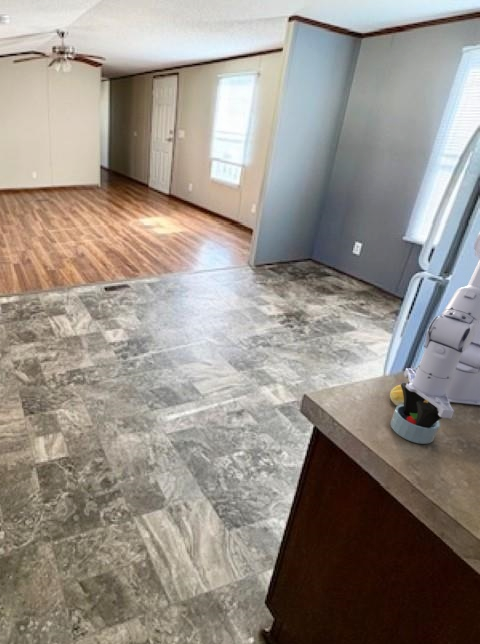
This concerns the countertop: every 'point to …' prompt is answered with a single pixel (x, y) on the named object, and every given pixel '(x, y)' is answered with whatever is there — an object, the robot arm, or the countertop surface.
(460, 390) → the robot arm
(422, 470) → the countertop surface
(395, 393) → the bread roll
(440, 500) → the countertop surface
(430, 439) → the bowl
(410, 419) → the strawberry
